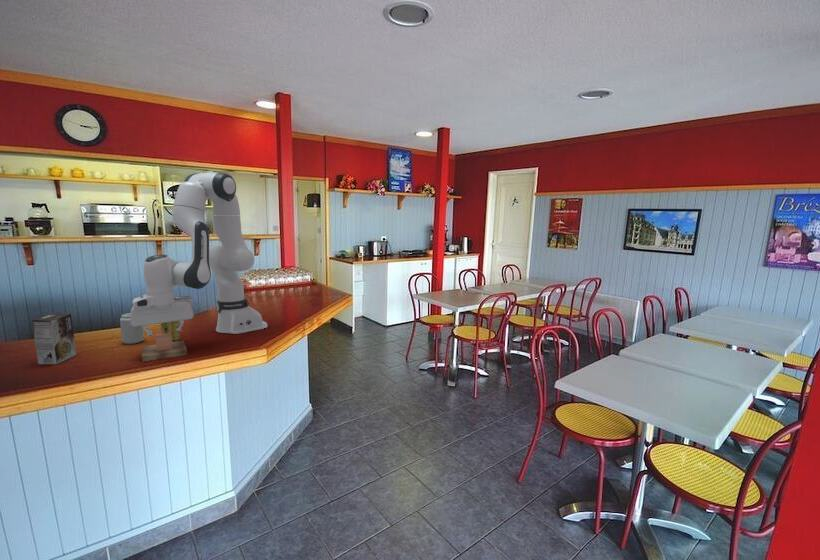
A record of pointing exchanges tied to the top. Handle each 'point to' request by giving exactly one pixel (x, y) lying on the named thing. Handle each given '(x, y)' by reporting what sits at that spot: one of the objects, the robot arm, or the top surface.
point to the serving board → (163, 351)
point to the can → (130, 331)
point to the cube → (163, 341)
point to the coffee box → (54, 338)
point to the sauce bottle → (171, 329)
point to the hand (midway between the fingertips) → (164, 333)
